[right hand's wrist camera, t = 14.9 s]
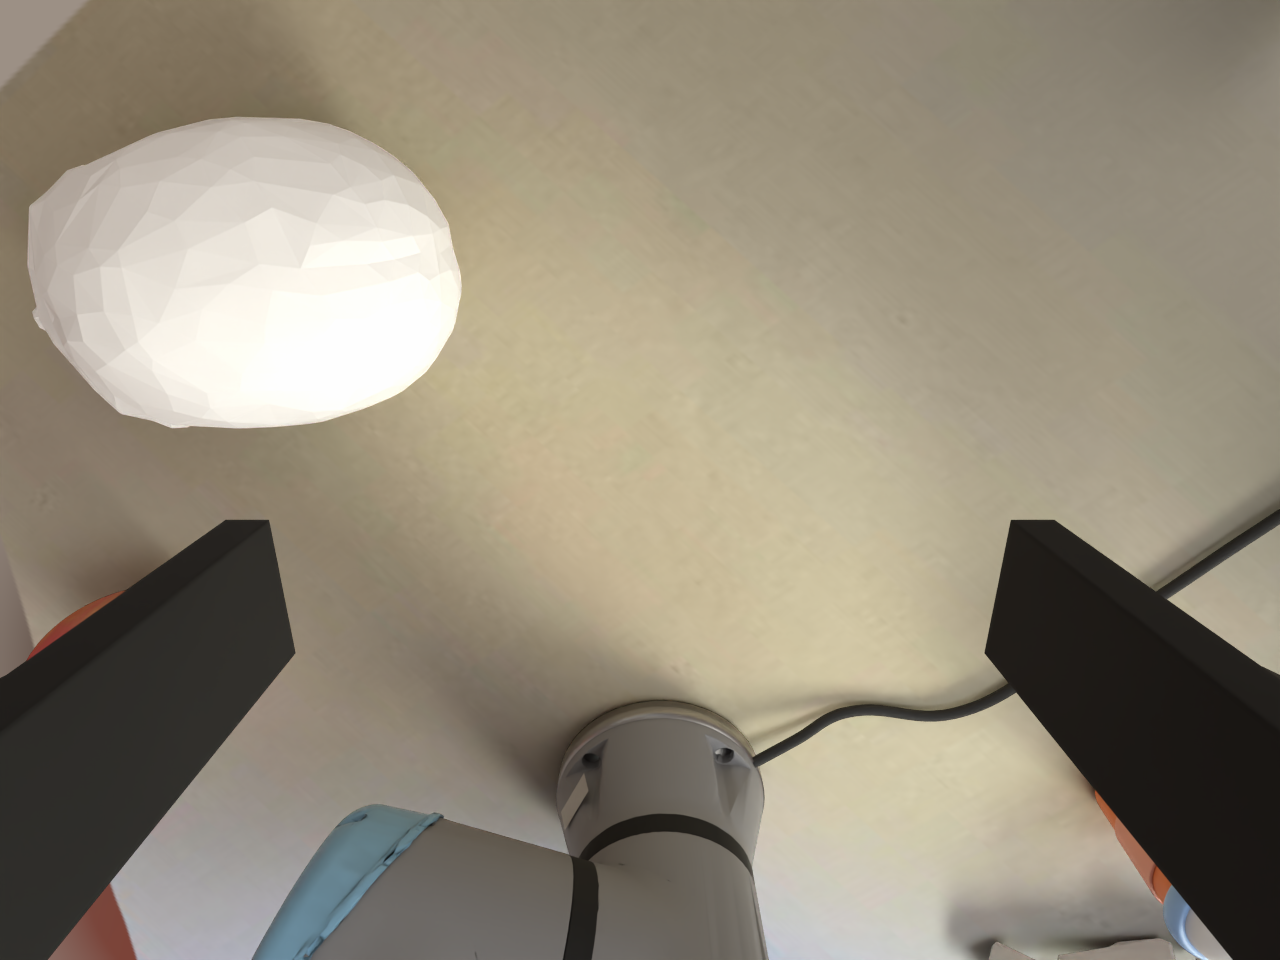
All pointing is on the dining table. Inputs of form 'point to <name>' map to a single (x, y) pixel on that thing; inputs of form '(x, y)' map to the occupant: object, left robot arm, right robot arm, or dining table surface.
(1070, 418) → the dining table surface
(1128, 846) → the cup with straw
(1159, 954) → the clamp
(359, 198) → the skull
